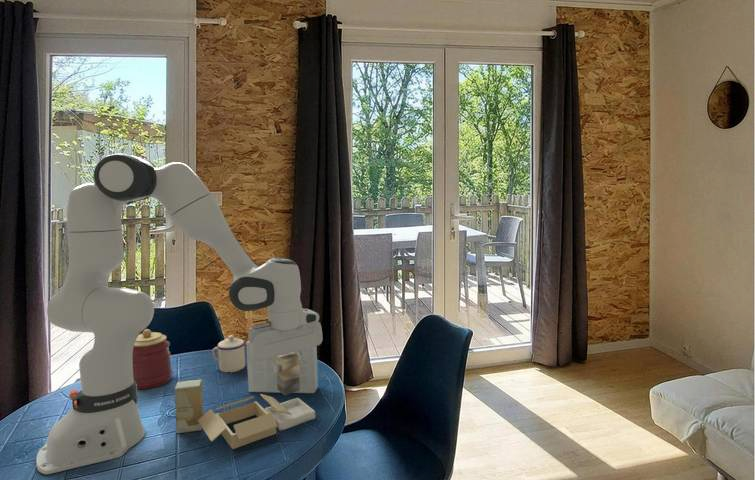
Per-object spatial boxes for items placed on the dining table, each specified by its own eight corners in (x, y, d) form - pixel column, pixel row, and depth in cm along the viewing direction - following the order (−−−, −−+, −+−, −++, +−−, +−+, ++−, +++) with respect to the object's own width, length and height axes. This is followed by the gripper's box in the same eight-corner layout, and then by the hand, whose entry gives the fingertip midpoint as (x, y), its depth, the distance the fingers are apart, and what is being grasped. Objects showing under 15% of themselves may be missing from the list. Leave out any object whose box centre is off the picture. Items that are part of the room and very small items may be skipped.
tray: (280, 430, 114) (279, 423, 114) (264, 415, 122) (264, 408, 122) (315, 418, 120) (315, 411, 120) (298, 404, 128) (298, 397, 128)
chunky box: (284, 395, 118) (283, 359, 116) (277, 388, 121) (276, 354, 120) (299, 390, 120) (298, 355, 119) (292, 384, 124) (291, 350, 122)
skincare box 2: (318, 386, 140) (317, 337, 138) (314, 394, 134) (312, 343, 133) (254, 384, 142) (251, 336, 140) (247, 392, 137) (245, 342, 135)
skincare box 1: (176, 434, 113) (172, 388, 112) (179, 425, 117) (175, 381, 116) (203, 430, 115) (200, 385, 114) (204, 421, 119) (201, 378, 118)
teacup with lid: (250, 363, 159) (249, 332, 158) (237, 374, 150) (235, 340, 149) (220, 361, 162) (218, 330, 160) (205, 371, 153) (203, 339, 151)
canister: (155, 391, 138) (150, 336, 136) (118, 389, 140) (113, 335, 138) (180, 374, 151) (177, 324, 149) (146, 372, 153) (142, 322, 151)
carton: (216, 462, 101) (214, 439, 101) (194, 427, 116) (193, 407, 116) (297, 431, 113) (296, 411, 113) (268, 404, 128) (267, 386, 128)
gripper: (252, 329, 109) (255, 382, 111) (324, 313, 121) (326, 361, 123) (243, 323, 114) (246, 374, 116) (313, 308, 126) (315, 354, 128)
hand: (288, 367), depth 120 cm, fingers closed on chunky box, 4 cm apart
